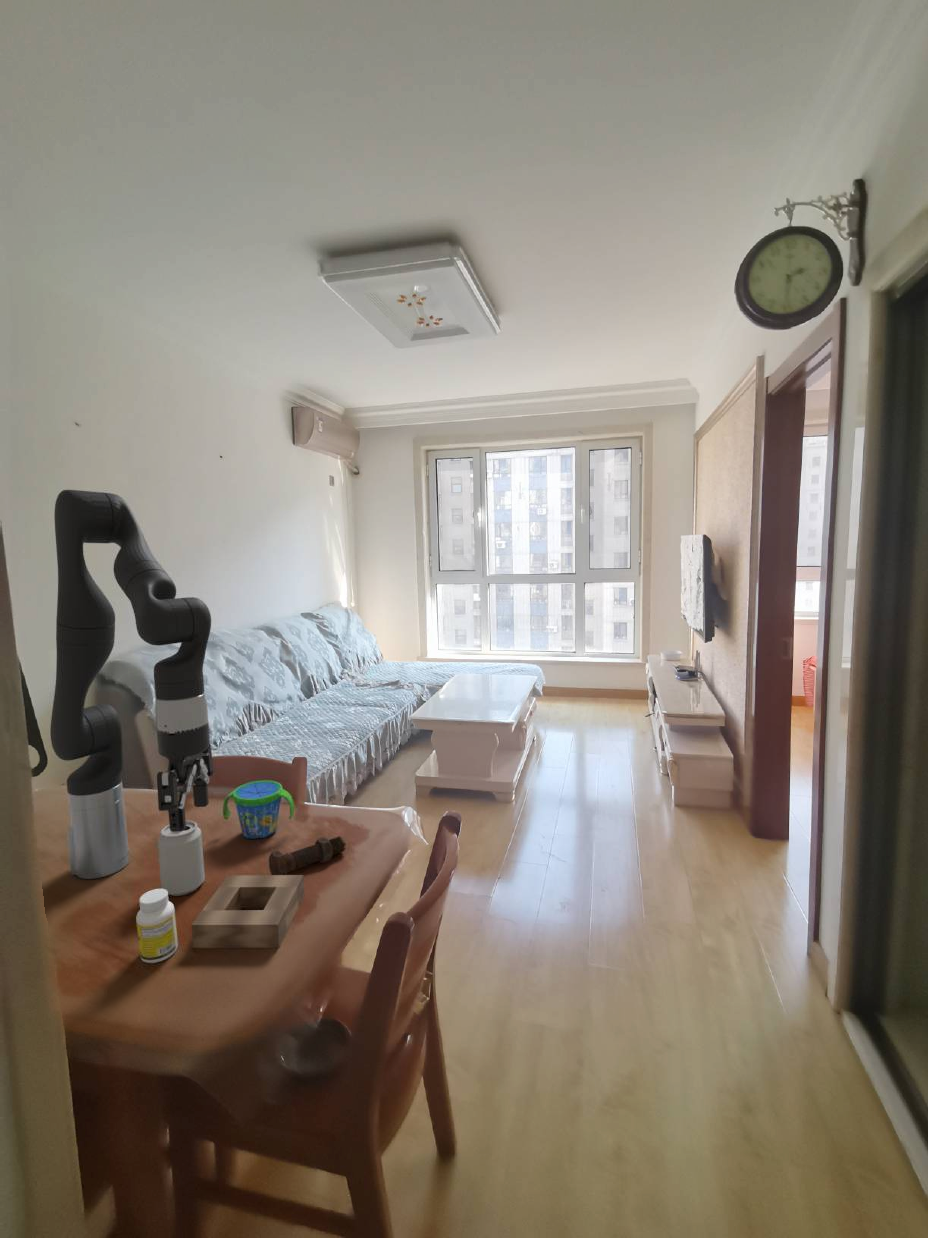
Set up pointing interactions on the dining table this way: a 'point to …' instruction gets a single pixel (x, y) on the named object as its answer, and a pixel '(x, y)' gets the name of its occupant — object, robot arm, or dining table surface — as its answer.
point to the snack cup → (258, 807)
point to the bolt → (305, 855)
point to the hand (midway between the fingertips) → (190, 817)
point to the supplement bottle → (156, 926)
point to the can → (181, 859)
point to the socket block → (249, 912)
